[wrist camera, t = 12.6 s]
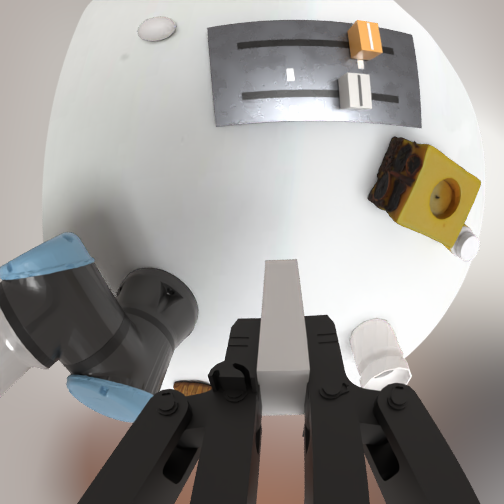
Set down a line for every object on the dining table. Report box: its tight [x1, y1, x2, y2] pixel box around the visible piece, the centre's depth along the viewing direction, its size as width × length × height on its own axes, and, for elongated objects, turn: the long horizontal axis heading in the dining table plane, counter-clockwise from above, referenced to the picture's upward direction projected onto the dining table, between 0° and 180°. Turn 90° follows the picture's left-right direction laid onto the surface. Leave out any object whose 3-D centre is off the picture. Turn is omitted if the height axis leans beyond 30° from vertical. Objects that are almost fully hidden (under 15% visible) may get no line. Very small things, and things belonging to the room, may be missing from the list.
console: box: [207, 20, 421, 128], centre depth 27 cm, size 27×14×2 cm, turn 95°
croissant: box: [173, 382, 212, 396], centre depth 55 cm, size 14×7×5 cm, turn 85°
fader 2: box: [338, 73, 372, 110], centre depth 25 cm, size 2×4×5 cm, turn 5°
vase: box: [350, 318, 412, 391], centre depth 41 cm, size 9×9×12 cm
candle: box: [368, 137, 481, 248], centre depth 29 cm, size 10×10×10 cm
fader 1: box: [347, 20, 383, 60], centre depth 22 cm, size 2×4×5 cm, turn 5°
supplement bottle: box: [443, 224, 480, 261], centre depth 32 cm, size 5×5×8 cm
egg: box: [137, 17, 176, 41], centre depth 24 cm, size 4×6×4 cm, turn 82°
